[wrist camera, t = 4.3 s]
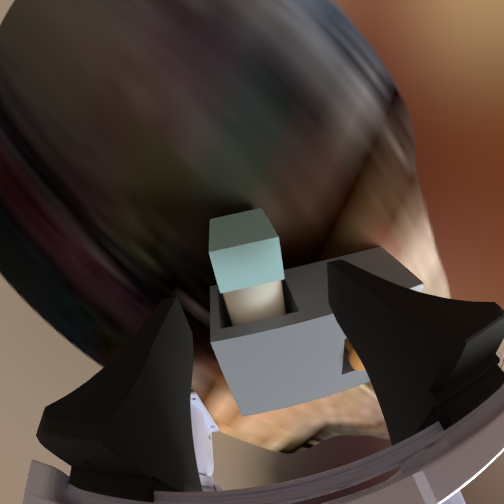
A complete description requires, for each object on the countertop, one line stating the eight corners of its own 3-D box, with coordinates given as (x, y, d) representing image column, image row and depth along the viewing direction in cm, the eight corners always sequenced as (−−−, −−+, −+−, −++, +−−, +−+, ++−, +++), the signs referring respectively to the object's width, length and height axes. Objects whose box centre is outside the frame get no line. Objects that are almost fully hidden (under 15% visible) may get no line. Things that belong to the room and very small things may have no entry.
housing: (373, 326, 24) (401, 367, 19) (235, 363, 24) (242, 416, 19) (380, 246, 20) (423, 283, 15) (210, 286, 20) (210, 342, 15)
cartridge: (285, 341, 23) (300, 385, 18) (243, 351, 23) (250, 396, 18) (264, 207, 17) (282, 236, 13) (206, 219, 17) (204, 253, 13)
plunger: (365, 329, 21) (387, 361, 17) (331, 340, 21) (349, 375, 17) (369, 299, 19) (394, 332, 16) (331, 311, 19) (353, 347, 16)
